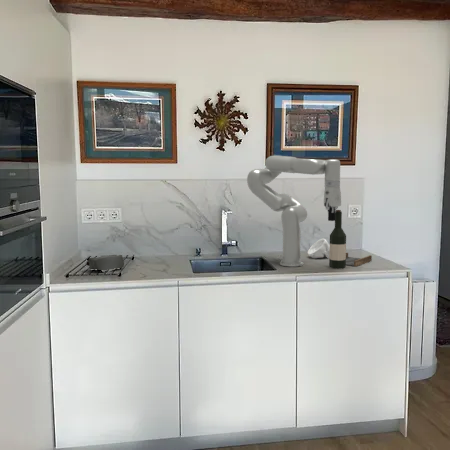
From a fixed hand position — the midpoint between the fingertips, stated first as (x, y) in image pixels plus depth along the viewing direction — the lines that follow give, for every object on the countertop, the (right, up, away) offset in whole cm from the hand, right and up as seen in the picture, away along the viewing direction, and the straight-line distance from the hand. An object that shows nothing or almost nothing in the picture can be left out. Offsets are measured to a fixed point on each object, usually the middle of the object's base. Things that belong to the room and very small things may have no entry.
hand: (331, 220), depth 225 cm
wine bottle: (+5, -25, +8) cm, 26 cm away
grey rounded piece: (-117, -26, +7) cm, 120 cm away
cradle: (+16, -23, +20) cm, 34 cm away
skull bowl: (+2, -22, +34) cm, 41 cm away
